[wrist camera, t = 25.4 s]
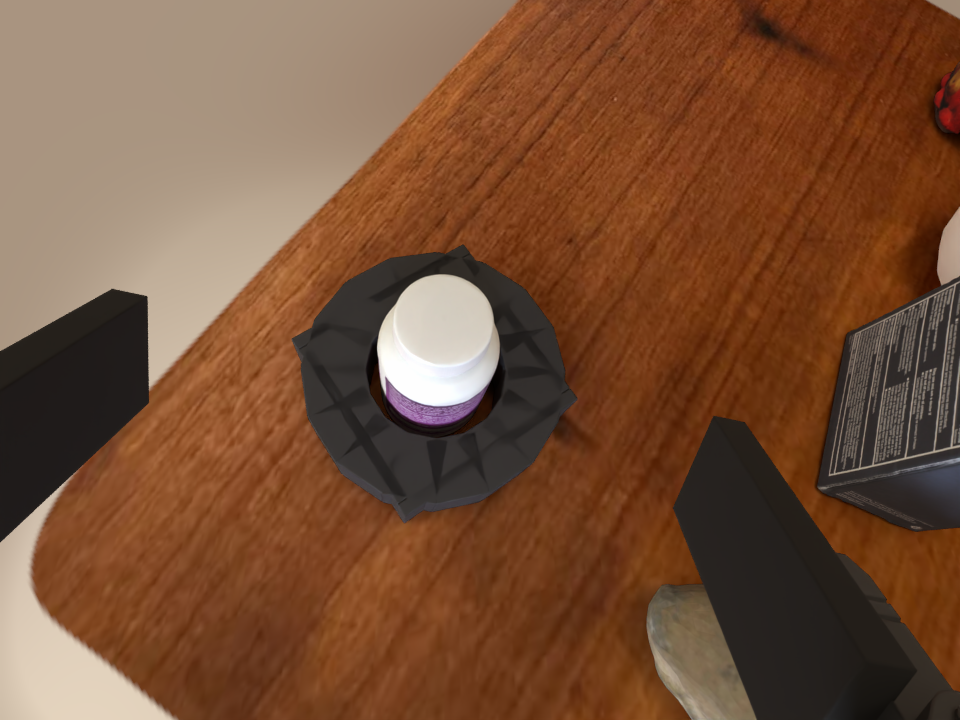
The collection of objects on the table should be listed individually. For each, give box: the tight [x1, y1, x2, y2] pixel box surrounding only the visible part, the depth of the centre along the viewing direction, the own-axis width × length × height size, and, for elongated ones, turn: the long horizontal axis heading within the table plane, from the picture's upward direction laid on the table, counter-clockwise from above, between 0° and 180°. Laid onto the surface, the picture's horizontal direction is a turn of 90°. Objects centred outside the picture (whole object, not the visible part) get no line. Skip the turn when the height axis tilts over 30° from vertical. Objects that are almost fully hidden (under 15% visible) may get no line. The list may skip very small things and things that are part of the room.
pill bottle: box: [377, 274, 500, 437], centre depth 28 cm, size 5×5×10 cm
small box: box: [817, 276, 960, 532], centre depth 31 cm, size 11×6×10 cm, turn 158°
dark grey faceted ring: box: [292, 245, 577, 523], centre depth 31 cm, size 12×12×4 cm
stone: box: [646, 584, 757, 720], centre depth 26 cm, size 17×9×8 cm, turn 66°
